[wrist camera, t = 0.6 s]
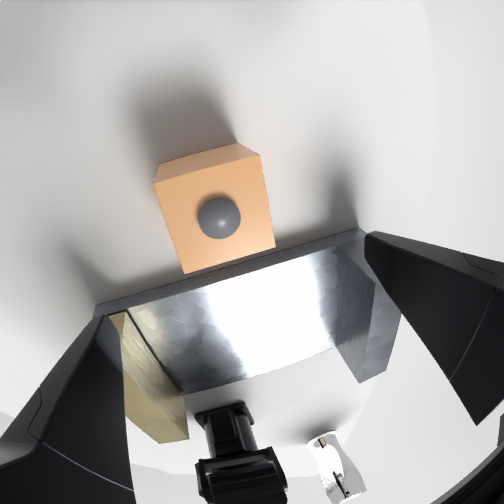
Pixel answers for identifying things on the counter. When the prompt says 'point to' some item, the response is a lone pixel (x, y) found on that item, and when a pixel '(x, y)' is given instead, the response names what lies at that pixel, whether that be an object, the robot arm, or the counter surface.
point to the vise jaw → (149, 388)
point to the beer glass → (336, 468)
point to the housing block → (215, 206)
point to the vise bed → (268, 315)
